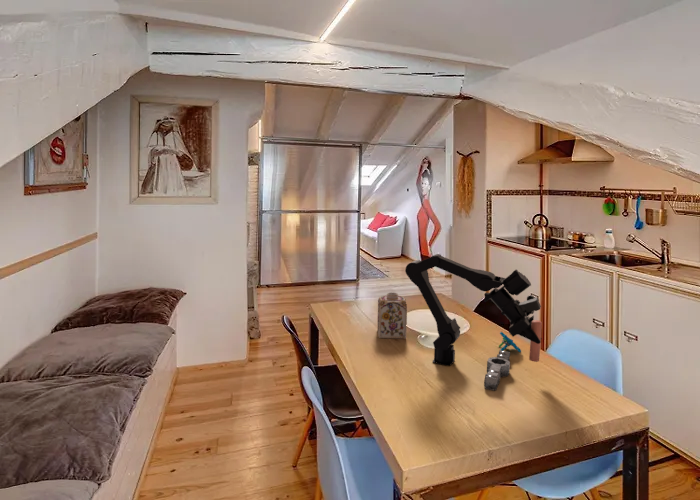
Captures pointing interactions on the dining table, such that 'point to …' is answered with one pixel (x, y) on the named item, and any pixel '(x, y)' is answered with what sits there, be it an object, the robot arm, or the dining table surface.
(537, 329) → the pin
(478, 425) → the dining table surface
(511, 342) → the gear
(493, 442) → the dining table surface
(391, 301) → the decorative jar
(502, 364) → the grey jointed bar
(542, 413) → the dining table surface
